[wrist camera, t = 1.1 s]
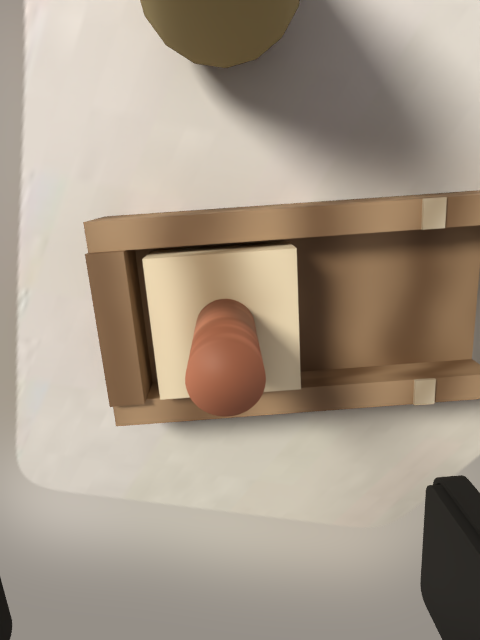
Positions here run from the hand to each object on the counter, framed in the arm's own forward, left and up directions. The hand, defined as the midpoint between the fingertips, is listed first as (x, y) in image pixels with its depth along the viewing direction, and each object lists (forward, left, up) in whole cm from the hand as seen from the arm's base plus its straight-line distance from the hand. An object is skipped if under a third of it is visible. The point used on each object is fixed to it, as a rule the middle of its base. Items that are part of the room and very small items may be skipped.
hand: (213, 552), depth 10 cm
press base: (-6, 0, -21) cm, 22 cm away
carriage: (0, 0, -19) cm, 19 cm away
